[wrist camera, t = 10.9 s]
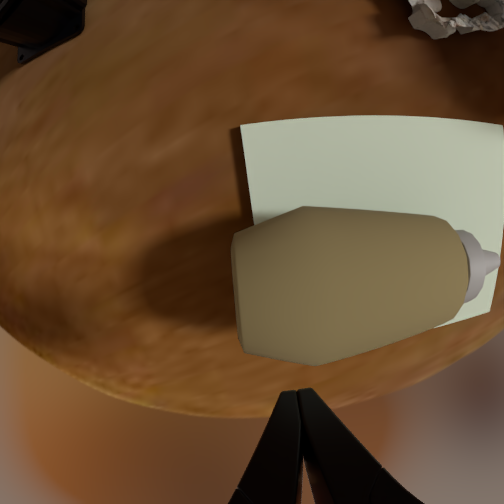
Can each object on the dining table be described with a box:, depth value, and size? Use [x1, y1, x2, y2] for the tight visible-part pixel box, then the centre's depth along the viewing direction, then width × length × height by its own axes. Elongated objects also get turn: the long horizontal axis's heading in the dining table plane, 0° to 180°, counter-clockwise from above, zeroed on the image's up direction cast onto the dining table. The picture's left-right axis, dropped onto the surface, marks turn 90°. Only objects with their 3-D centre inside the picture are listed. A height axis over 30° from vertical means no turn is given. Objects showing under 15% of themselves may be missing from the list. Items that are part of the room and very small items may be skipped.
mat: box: [240, 116, 504, 328], centre depth 19 cm, size 20×16×1 cm
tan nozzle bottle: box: [231, 206, 500, 366], centre depth 15 cm, size 8×8×18 cm
